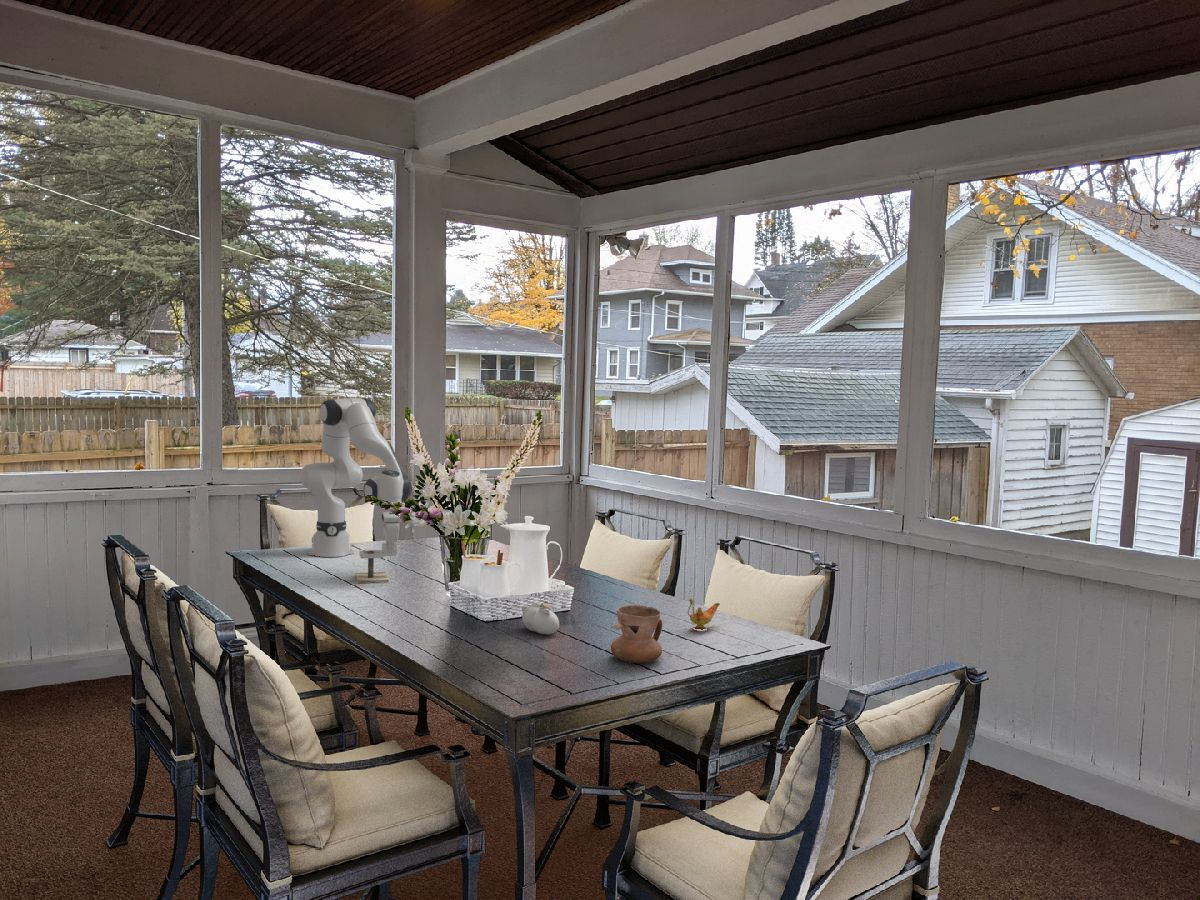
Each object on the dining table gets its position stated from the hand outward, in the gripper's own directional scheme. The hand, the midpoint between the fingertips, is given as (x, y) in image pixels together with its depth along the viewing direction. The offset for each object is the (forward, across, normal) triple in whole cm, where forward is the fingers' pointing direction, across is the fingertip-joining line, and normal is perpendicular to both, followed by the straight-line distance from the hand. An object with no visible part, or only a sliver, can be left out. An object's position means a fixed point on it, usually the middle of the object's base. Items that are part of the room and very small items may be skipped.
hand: (389, 550), depth 336 cm
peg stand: (+11, -2, -6) cm, 13 cm away
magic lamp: (+12, +86, +89) cm, 124 cm away
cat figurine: (+12, +78, +37) cm, 87 cm away
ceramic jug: (+12, +110, +57) cm, 124 cm away
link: (+2, 0, -4) cm, 5 cm away
